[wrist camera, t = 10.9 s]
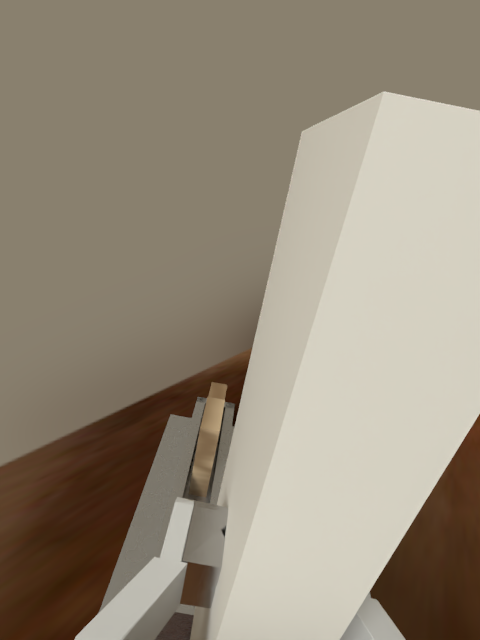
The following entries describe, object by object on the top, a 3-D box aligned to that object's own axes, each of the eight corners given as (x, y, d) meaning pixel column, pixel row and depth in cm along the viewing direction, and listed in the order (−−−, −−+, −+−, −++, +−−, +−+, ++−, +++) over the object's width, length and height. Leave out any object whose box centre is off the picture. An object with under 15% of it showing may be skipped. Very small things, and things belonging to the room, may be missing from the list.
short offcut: (217, 431, 50) (227, 385, 46) (212, 459, 45) (222, 410, 42) (203, 428, 50) (211, 382, 46) (197, 456, 45) (205, 407, 42)
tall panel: (235, 586, 20) (373, 145, 10) (215, 841, 12) (645, 144, 3) (199, 579, 20) (302, 131, 10) (158, 830, 12) (384, 90, 3)
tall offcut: (212, 462, 45) (225, 399, 41) (205, 497, 40) (219, 431, 36) (196, 459, 45) (207, 396, 40) (188, 494, 40) (200, 427, 36)
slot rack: (251, 437, 52) (258, 408, 50) (238, 659, 30) (251, 625, 27) (169, 422, 52) (173, 392, 49) (94, 633, 29) (94, 597, 27)
